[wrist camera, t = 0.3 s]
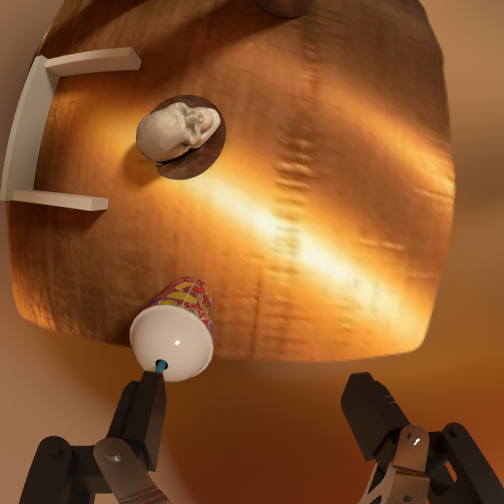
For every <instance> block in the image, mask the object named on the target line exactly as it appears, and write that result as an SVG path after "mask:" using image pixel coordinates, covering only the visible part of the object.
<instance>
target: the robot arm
mask: <svg viewBox="0 0 504 504" xmlns="http://www.w3.org/2000/svg"><path fill="white" fill-rule="evenodd" d="M313 1H314V0H256V2H257V4H258V5H259V6H260V7H261V8H262V9H263V10H265V11H266V12H268V13H270V14H273V15H276V16H280V17H291V18H292V17H299V16H302V15H304V14H306V13H307V12H308V11H309V10H310V8H311V6H312V3H313ZM166 404H167V400H166V391H165V384H164V376H163V373H162V372H154V371H146V370H145V371H144V373H143V376H142V379H141V382H138V381H131V382H130V383H129V384H128V385H127V386H126V387H125V388H124V390H123V392H122V395H121V399H120V401H119V403H118V407H117V409H116V412H115V414H114V417H113V420H112V423H111V425H110V429H109V431H108V434H107V436H106V438H104V439H102V440H100V441H99V442H97V444H96V445H92V446H70V444H69V443H68V442H67V441H66V440H64V439H63V438H61V437H58V436H50V437H46V438H45V439H43V440H42V441H41V442H40V444H39V446H38V449H37V451H36V454H35V456H34V459H33V462H32V464H31V467H30V470H29V473H28V476H27V479H26V482H25V485H24V488H23V491H22V495H21V498H20V502H19V504H94V500H95V494H96V493H113V494H114V495H115V497H116V499H117V500H118V502H119V504H172V503H171V502H170V500H169V499H168V498H167V497H166V496H165V494H164V493H163V492H162V491H161V490H159V489H158V487H157V486H156V485H155V483H154V482H153V481H152V479H151V478H150V477H149V475H148V471H153V472H155V471H156V466H157V460H158V453H159V447H160V441H161V435H162V429H163V424H164V418H165V413H166ZM341 408H342V410H343V413H344V415H345V417H346V419H347V421H348V423H349V425H350V428H351V430H352V432H353V434H354V436H355V438H356V441H357V443H358V445H359V447H360V449H361V452H362V453H363V456H364V458H365V460H366V462H367V461H370V460H374V459H376V461H377V464H376V465H375V467H374V469H373V472H372V475H371V477H370V480H369V483H368V485H367V488H366V491H365V493H364V495H363V497H362V499H361V501H360V502H359V503H358V504H425V502H426V498H428V501H429V503H430V504H504V488H503V486H502V484H501V483H500V481H499V479H498V478H497V476H496V474H495V473H494V471H493V469H492V468H491V467H490V465H489V463H488V462H487V460H486V459H485V457H484V455H483V454H482V452H481V451H480V449H479V448H478V446H477V445H476V443H475V442H474V440H473V439H472V437H471V436H470V434H469V433H468V431H467V430H466V429H465V428H464V426H462V425H461V424H459V423H449V424H447V425H446V426H445V427H444V429H443V430H442V431H438V432H427V431H426V430H425V429H424V428H423V427H421V426H419V425H414V424H412V425H411V424H410V422H409V421H408V419H407V418H406V416H405V415H404V414H403V412H402V410H401V409H400V407H399V406H398V404H397V403H395V400H394V398H393V397H391V394H390V392H389V391H388V390H387V388H386V387H385V386H383V385H382V384H381V383H380V382H378V381H374V379H373V378H372V376H371V375H370V373H368V372H361V373H354V374H351V375H350V377H349V380H348V382H347V385H346V387H345V390H344V392H343V395H342V397H341ZM448 461H449V462H450V464H451V466H452V467H453V469H454V471H455V473H456V475H457V480H456V483H455V482H454V481H453V479H452V477H451V475H450V473H449V471H448V469H447V468H446V466H445V464H446V463H447V462H448Z"/></svg>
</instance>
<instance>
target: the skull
mask: <svg viewBox="0 0 504 504" xmlns="http://www.w3.org/2000/svg"><path fill="white" fill-rule="evenodd" d="M225 137H226V128H225V122H224V119H223V117H222V115H221V113H220V111H219V110H218V109H217V107H216V106H215V105H213V104H212V103H211V102H210V101H208V100H206V99H204V98H202V97H198V96H195V95H181V96H176V97H172V98H170V99H167V100H166V101H164V102H162V103H160V104H159V105H158V106H157V107H156V108H155V109H153V111H152V112H151V113H150V114H149V115H147V116H145V117H144V118H143V119H142V121H141V122H140V123H139V125H138V127H137V133H136V142H137V146H138V148H139V149H140V151H141V152H142V154H144V155H145V156H146V157H147V158H148V159H150V160H152V161H155V162H157V163H160V164H161V163H162V165H156V167H157V168H158V170H157V171H158V172H159V174H160V175H161V176H164V177H167V178H171V179H186V178H190V177H193V176H196V175H198V174H200V173H202V172H204V171H205V170H206V169H208V168H209V167H210V166H211V165H212V164H213V163H214V162H215V161H216V159H217V158H218V157H219V155H220V153H221V151H222V149H223V146H224V143H225Z"/></svg>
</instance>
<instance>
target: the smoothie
mask: <svg viewBox="0 0 504 504" xmlns="http://www.w3.org/2000/svg"><path fill="white" fill-rule="evenodd" d="M213 314H214V299H213V294H212V292H211V291H210V289H209V287H208V286H207V285H206V284H205V283H204V282H202V281H200V280H198V279H196V278H191V277H184V278H179V279H177V280H175V281H174V282H173V283H172V284H171V285H169V286H168V287H167V288H166V289H165V290H164V291H163V292H162V293H161V294H160V295H159V296H158V297H157V298H156V299H155V300H154V301H153V302H152V303H151V304H150V305H149V306H148V307H147V308H146V309H144V310H143V311H142V312H141V313H140V314H139V315H138V316H137V317H136V318H135V319H134V321H133V323H132V325H131V328H130V343H131V346H132V350H133V352H134V355H135V358H136V360H137V361H138V363H139V364H140V366H141V367H142V369H143V370H146V371H154V372H162V373H163V376H164V381H166V382H179V381H182V380H186V379H189V378H191V377H193V376H196V375H198V374H199V373H200V372H201V371H203V370H204V369H205V368H206V367H207V365H208V364H209V362H210V361H211V358H212V353H213Z"/></svg>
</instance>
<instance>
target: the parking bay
mask: <svg viewBox="0 0 504 504" xmlns="http://www.w3.org/2000/svg"><path fill="white" fill-rule="evenodd" d="M141 63H142V61H141V60H140V58H139V57H138V56H137V54H136V53H135V51H134V50H133V48H132V47H125V48H113V49H104V50H96V51H89V52H83V53H77V54H71V55H66V56H61V57H57V58H52V59H47V58H45V57H44V56H42V55H41V56H37V57H36V58H35V60H34V63H33V65H32V67H31V70H30V72H29V75H28V78H27V80H26V83H25V86H24V89H23V91H22V94H21V97H20V101H19V104H18V107H17V110H16V114H15V118H14V122H13V125H12V130H11V133H10V138H9V142H8V147H7V152H6V158H5V164H4V170H3V177H2V185H1V194H0V200H3V201H9V200H16V201H24V202H31V203H39V204H46V205H53V206H61V207H68V208H75V209H82V210H89V211H94V210H104V209H107V208H108V200H109V199H107V198H99V197H91V196H83V195H74V194H65V193H56V192H47V191H37V190H33V186H34V179H35V172H36V166H37V160H38V155H39V150H40V145H41V140H42V136H43V131H44V127H45V123H46V120H47V116H48V112H49V109H50V106H51V102H52V99H53V96H54V93H55V90H56V87H57V84H58V81H59V78H60V77H63V76H69V75H77V74H85V73H94V72H105V71H121V70H139V69H140V66H141Z"/></svg>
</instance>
